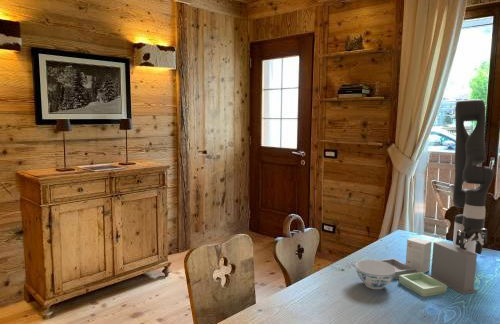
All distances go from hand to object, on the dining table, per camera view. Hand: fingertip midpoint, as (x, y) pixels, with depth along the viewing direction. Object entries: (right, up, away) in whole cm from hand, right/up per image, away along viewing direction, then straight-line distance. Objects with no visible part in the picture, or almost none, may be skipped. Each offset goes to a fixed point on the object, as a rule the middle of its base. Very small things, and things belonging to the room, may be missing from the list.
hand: (470, 254), depth 156 cm
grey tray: (-28, -10, +9) cm, 31 cm away
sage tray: (-22, -11, -6) cm, 26 cm away
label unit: (-9, -11, -2) cm, 14 cm away
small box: (-16, -10, +12) cm, 23 cm away
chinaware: (-41, -11, -5) cm, 42 cm away
